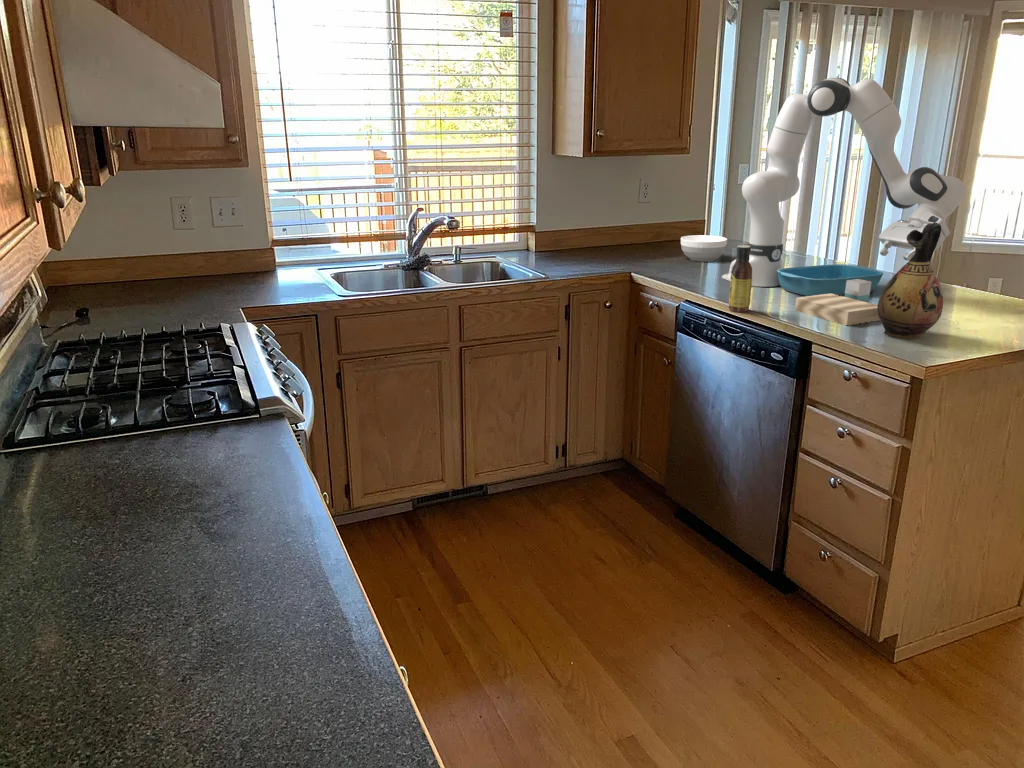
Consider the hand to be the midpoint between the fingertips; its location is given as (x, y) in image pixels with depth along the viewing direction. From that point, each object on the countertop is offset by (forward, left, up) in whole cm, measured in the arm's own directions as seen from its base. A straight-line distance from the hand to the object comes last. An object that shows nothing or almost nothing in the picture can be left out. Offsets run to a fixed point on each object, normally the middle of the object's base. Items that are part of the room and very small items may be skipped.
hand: (893, 256), depth 235 cm
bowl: (-90, -2, -15) cm, 91 cm away
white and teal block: (-1, -12, -15) cm, 19 cm away
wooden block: (+5, -26, -15) cm, 31 cm away
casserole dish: (-22, -2, -15) cm, 27 cm away
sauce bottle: (-13, -48, -15) cm, 52 cm away
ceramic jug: (+29, -26, -15) cm, 42 cm away
